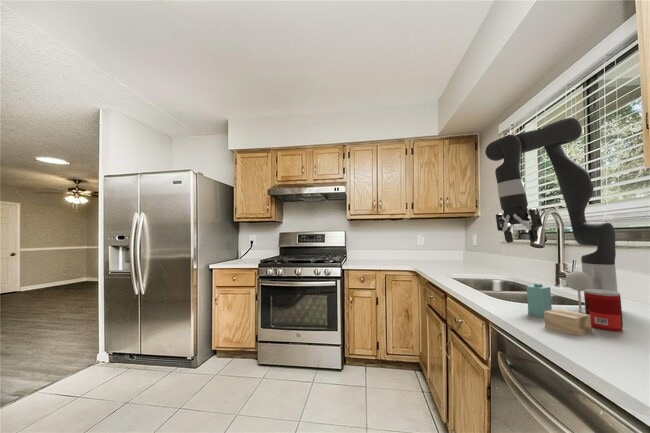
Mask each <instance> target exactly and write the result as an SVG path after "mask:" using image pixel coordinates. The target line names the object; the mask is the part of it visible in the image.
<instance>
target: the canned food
mask: <svg viewBox="0 0 650 433" xmlns="http://www.w3.org/2000/svg"><path fill="white" fill-rule="evenodd" d="M584 298H585V301H584V307H585V308H584V310H585V314H588V315H590V317H591V328H594V329H597V330H601V331H609V332H610V331H611V332H621V331H623V328H624V322H623V311H622V308H623V307H622V299H621V293H620V292H619V291H618V292H615V291H610V290H601V289H585V290H584V291H583V299H584Z"/></svg>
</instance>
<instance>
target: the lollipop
mask: <svg viewBox="0 0 650 433" xmlns="http://www.w3.org/2000/svg"><path fill="white" fill-rule="evenodd" d="M565 284H566V285H567V286H568V287H569V288H570V289H571V290H574V291H577V298H578V299H577V300H578V310H579V312H578V313H583V308H582V299H581V298H582V296H581V292H584V290H585V289H589V288H590V287H591V285H592V281H591V278H590V277H589V276H588V275H587V274H585V273H583V272H582V271H577V270H576V271H571V272H569V273H567V274H566V276H565Z"/></svg>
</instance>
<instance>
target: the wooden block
mask: <svg viewBox="0 0 650 433" xmlns="http://www.w3.org/2000/svg"><path fill="white" fill-rule="evenodd" d="M543 319H544V328H547V329H551V330H554V331H558V332H561V333H566V334H570V335H573V336H576V337H577V336H581V335H585V334H588V333H591V332H592V327H591V317H590V315H588V314H586V313H583V312H582V313H580V312H577V311H571V310H567V309H564V308H563V309H562V308H555V309H552V310H549V311H544V318H543Z"/></svg>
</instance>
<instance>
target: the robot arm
mask: <svg viewBox="0 0 650 433" xmlns="http://www.w3.org/2000/svg"><path fill="white" fill-rule="evenodd" d="M582 134H583V125H582V123H581V122H580V120H578V119H577V118H576V117H575V118H574V117H566V118H563V119H560V120H556V121H554V122H551V123H549V124H546V125H543V127H541V128H537V129H533V130H529V131H525V132H521V133H517V134H515V135H514V134H507V135H504V136H503V137H499V138H498V139H496V140H494V141H491V142H489V143H488V145H487V146H486V147H485V152H484V153H485V156H486V157H487V159H489V160H491V161H494V162H498V161H502V160H503V161H502V164H500V165H499V166H497V167H496V168H495V172H494V173H495V174H494V175H495V179H496V184H497V185H496V186H497V193H498V198H499V205H500V209H501V210H502V211H503V212H502V213H497V214H495V221H496V227H497V231H498V232H499V231H500V232H503V235H504V236H503V237H504V240H505V242H506V243H507V244H509V243H514V239H513V238H514V236H513V233H512V231H511V230H512V228H513V227H514V226H515V225H522V226H524V227H525V228H527V232H528V238H529V241H530V242H531V243H535V242H537V241H538V239H539V235H538V231H537V230H538V228H541V227H543V222H542V217H541V214H540V210H539V208H537V207H535V208H530V209H528V205H529V202H528V199H527V198H528V197H527V193H526V190H525V189H526V188H525V184H524V182H523V178H522V173H521V170H520V166H521V156H522V154H525V153H528V152H532V151H535V150H537V149H541V148H544V150H545V151H546V155H547V157H548V158H549V160H550V162H551V165H552V167H553V171H554V174H555V175H556V176H555V177H556V180H557V184H558V186H559V189H560V193H561V194H562V197H563V200H564V203H565V206H566V209H567V212H568V217H569V221H570V226H571V231H572V235H573V238H574V240H575V242H576V243H577V244H579V245H581V246H585V247H586V246H589V247H590V246H592V247H593V246H595V247H597V249H596V250H595V251H594V252H592V253H588V254H587V253H586V254H583V255H581V258H580V259H581V261H580V262H581V270H582V271H581V272H583V273H585V274H587V275H588V276H589V277H590V278H591V281H592V285H591V287H590V288H589V289H601V290H610V291H615V292H618V293H619V291H618V282H617V271H616V255H617V254H616V253H617V252H616V230H615V227H614V226H613V224H611V223H610V222H608V221H607V222H606V221H599V222H598V221H597V222H596V221H595V222H593V221H592V222H587V219H586V215H585V214H586V212H585V211H586V209H587V206H588V204H589V202H590V200H591V198H592V195H593V194H594V185H593V182H592V178H591V177H590V176H591V175H590V174H589V172H588V171H587V170H586V169H585V168H584V167H583V166H582V165H580V164H579V163H577V162H575V161H574V160H572V159H571V157H569V156H568V155H567V153H566V151H565V150H564V148H563V145H566V144H567V145H568V144H570V143H573V142H576V141H577V140H578V139H580V137H581V136H582ZM529 216H530V217H529ZM583 301H584V302H585V298H584V297H583Z"/></svg>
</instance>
